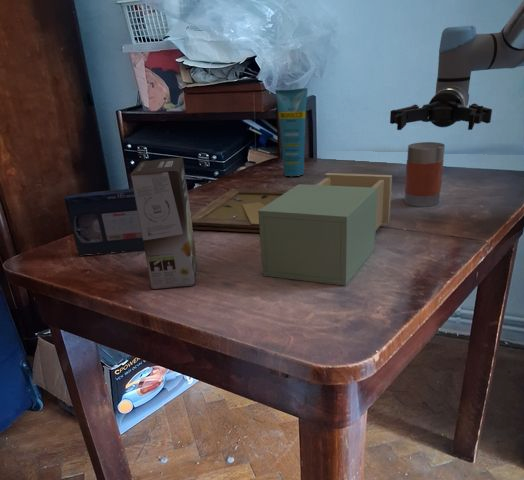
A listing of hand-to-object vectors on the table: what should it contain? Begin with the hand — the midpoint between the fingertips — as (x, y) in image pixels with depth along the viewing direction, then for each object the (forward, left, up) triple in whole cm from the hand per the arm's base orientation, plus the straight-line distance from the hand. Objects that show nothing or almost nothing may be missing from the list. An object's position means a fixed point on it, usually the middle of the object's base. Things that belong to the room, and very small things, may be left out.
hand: (434, 122), depth 105 cm
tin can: (-1, +10, -13) cm, 16 cm away
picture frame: (+29, +24, -13) cm, 40 cm away
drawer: (+7, +30, -12) cm, 34 cm away
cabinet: (+7, +45, -13) cm, 47 cm away
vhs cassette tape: (+40, +48, -13) cm, 64 cm away
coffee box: (+26, +56, -13) cm, 63 cm away
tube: (+33, -7, -13) cm, 37 cm away
